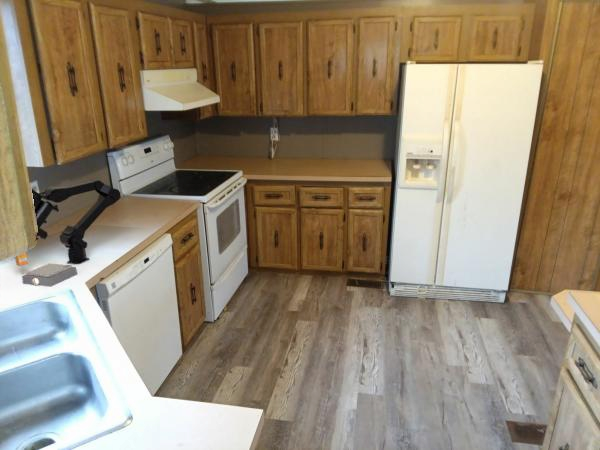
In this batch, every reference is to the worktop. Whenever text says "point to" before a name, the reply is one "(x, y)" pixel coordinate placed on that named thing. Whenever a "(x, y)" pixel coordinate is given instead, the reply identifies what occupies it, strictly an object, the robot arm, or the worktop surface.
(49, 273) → the pan
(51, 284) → the kitchen scale
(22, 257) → the supplement box
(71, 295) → the worktop surface
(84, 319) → the worktop surface
